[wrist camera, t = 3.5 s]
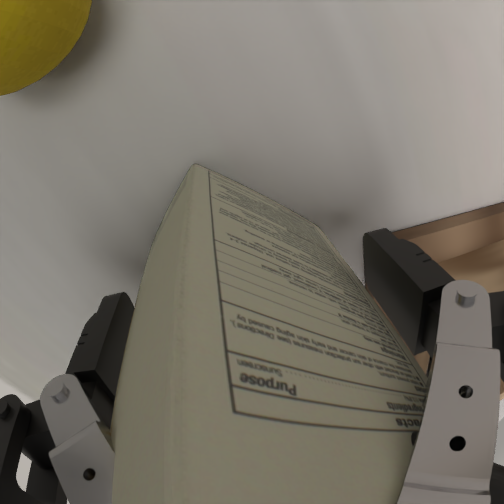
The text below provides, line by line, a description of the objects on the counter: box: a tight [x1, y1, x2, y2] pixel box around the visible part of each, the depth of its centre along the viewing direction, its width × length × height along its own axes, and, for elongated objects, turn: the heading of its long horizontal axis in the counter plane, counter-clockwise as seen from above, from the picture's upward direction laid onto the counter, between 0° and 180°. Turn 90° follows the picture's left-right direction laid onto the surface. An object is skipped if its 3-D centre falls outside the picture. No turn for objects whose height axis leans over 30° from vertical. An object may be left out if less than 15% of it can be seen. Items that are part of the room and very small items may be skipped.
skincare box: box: [110, 164, 428, 504], centre depth 8 cm, size 6×4×12 cm
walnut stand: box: [365, 202, 504, 400], centre depth 16 cm, size 15×15×5 cm
